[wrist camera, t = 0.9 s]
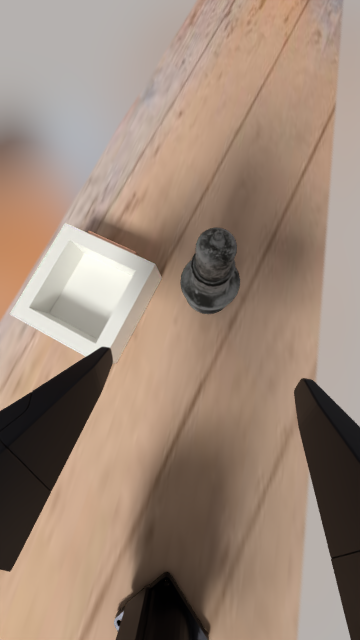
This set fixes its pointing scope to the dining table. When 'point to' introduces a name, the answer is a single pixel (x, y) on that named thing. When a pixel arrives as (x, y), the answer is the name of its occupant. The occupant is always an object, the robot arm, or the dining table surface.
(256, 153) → the dining table surface
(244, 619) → the dining table surface
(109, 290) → the tagged holder
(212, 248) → the dark chess piece
